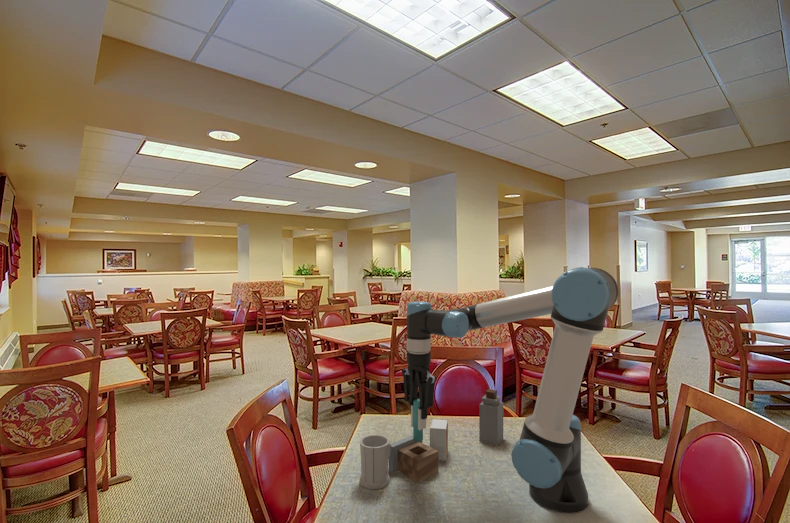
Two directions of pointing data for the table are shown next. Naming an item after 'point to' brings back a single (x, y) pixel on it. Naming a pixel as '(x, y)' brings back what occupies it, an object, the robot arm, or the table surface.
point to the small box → (439, 437)
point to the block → (418, 461)
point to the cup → (374, 461)
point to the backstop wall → (394, 452)
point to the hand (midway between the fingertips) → (418, 427)
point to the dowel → (416, 422)
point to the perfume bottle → (491, 418)
